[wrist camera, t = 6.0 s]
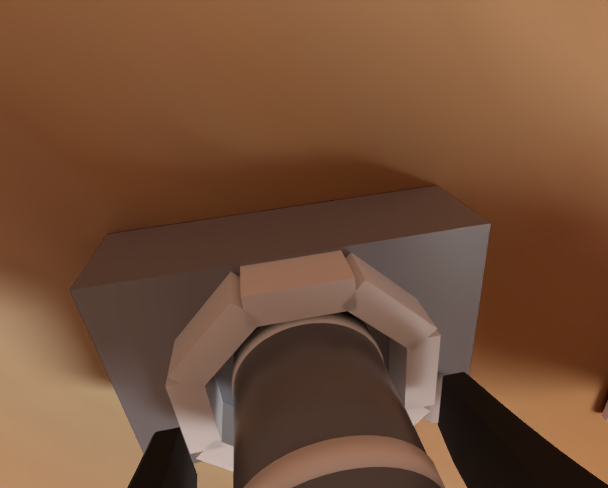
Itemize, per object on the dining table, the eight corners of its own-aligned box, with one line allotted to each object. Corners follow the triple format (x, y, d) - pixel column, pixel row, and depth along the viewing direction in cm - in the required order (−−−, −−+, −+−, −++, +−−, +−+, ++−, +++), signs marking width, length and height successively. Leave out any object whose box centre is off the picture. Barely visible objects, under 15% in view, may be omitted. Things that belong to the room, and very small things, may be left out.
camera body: (437, 185, 15) (523, 246, 10) (426, 347, 18) (485, 442, 14) (107, 234, 14) (45, 325, 9) (166, 395, 17) (143, 515, 13)
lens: (377, 287, 12) (490, 477, 7) (361, 392, 14) (439, 603, 9) (228, 295, 11) (224, 515, 6) (234, 405, 13) (235, 641, 8)
